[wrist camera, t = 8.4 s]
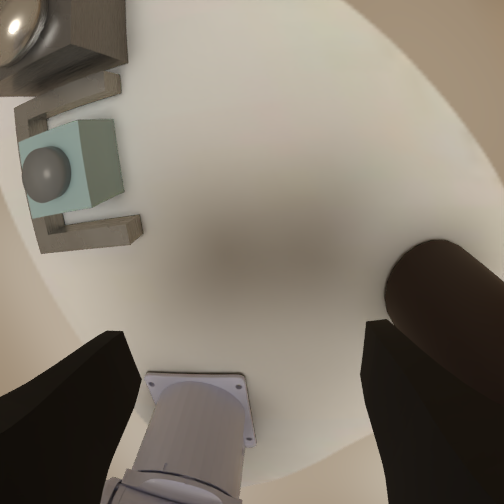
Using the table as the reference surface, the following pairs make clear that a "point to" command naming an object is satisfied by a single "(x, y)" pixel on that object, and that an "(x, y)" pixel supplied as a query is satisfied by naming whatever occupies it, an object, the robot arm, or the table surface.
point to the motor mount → (64, 89)
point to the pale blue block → (71, 167)
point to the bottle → (452, 313)
